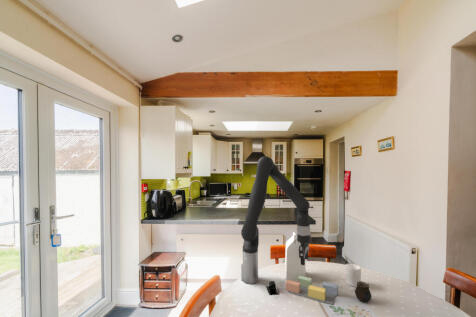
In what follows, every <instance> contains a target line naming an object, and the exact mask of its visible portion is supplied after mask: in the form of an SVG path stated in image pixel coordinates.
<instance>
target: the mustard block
mask: <svg viewBox="0 0 476 317" xmlns="http://www.w3.org/2000/svg"><path fill="white" fill-rule="evenodd" d="M308 296H309V297H313V298H316V299H320V300H324V301H325V298H326V289H324V288H323V287H320V286H317V285H313V284H312V285H309V287H308Z"/></svg>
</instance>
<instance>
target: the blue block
mask: <svg viewBox="0 0 476 317" xmlns="http://www.w3.org/2000/svg"><path fill="white" fill-rule="evenodd" d="M322 288H324V289H326V293H328V294H332V295H335V297H337V296H338V293H339V289H338V288H339V285H338V284H336V283H332V282H327V281H323V283H322Z"/></svg>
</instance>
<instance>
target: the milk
mask: <svg viewBox="0 0 476 317" xmlns="http://www.w3.org/2000/svg"><path fill="white" fill-rule="evenodd" d="M300 245H301V243H300V242H298V241H297V233H296V232H294V231H293V232H292V236H291V237H290V238H288V240H287V241H286V242H285V255H284V256H285V260H284V262H285V263H284V273H285V279H286V281H287V280H291V281H296V282H298V277H299V276H304V277H307V268H306V264H305V265H301V259H300V258H299V246H300ZM301 256H303V254H302V255H301Z"/></svg>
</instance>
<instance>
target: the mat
mask: <svg viewBox="0 0 476 317" xmlns="http://www.w3.org/2000/svg"><path fill="white" fill-rule="evenodd" d="M295 282H297V281H295ZM288 293H289V294H292V295H295V296H300V297H303V298H306V299H309V300H313V301H317V302H320V303H321V302H322V303H324V304H328V305H332V306H333V305H334V303H335V298H336V295H332V294H328V293H326V298H325V301H324V300H320V299H316V298H313V297H309V296H308V288H307V287H303V286H300V292H299V293H295V292H292V291H288Z"/></svg>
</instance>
